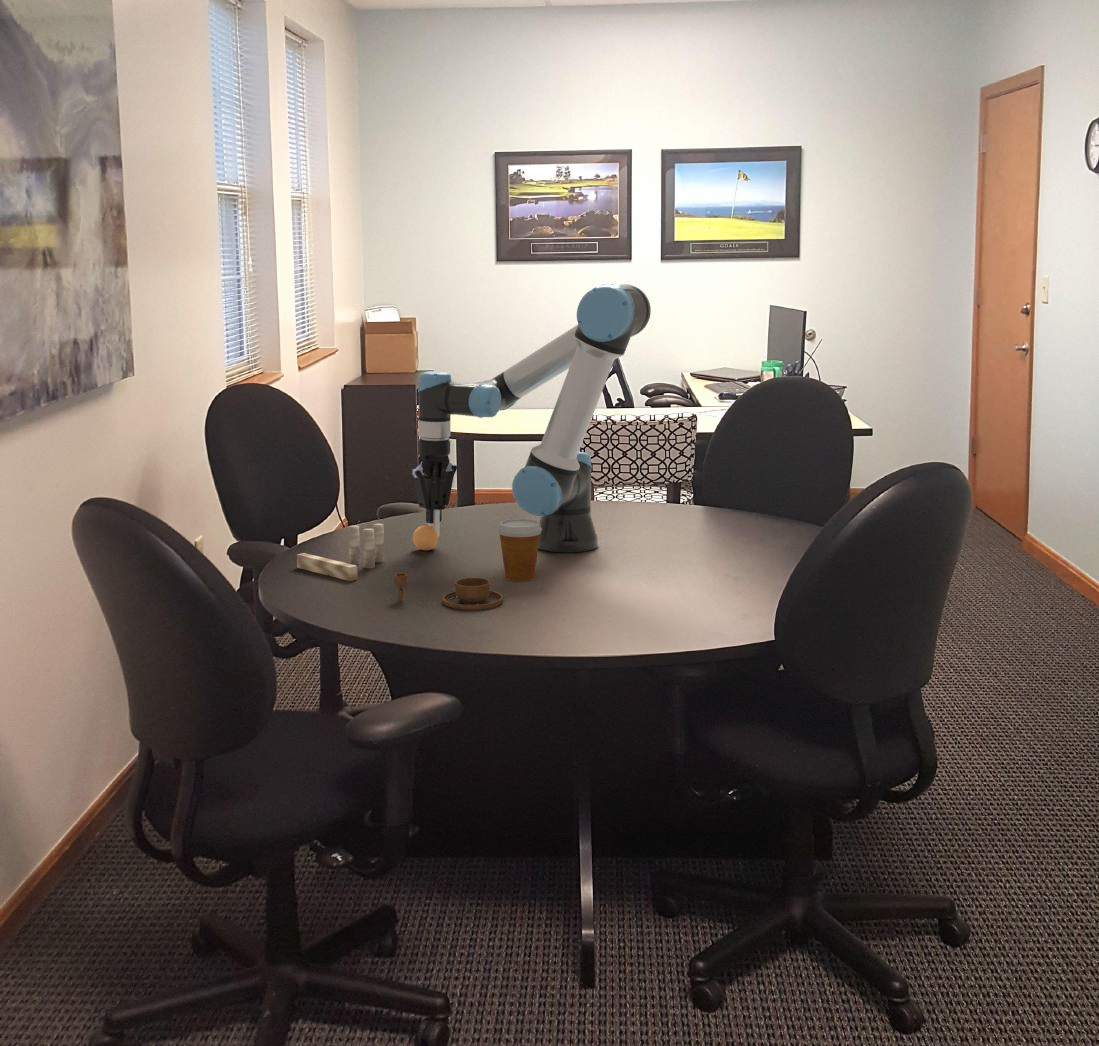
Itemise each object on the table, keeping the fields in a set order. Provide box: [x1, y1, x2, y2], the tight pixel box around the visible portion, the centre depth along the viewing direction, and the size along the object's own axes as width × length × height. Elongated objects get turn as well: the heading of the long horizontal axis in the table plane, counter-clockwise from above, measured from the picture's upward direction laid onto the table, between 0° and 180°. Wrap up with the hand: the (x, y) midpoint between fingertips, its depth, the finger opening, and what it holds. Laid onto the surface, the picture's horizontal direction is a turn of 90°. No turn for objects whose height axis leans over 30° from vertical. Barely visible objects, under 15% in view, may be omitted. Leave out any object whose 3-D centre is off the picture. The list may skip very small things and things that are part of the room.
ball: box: [412, 524, 439, 551], centre depth 280 cm, size 6×6×6 cm
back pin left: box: [362, 528, 376, 569], centre depth 263 cm, size 2×2×8 cm
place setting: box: [394, 572, 504, 611], centre depth 238 cm, size 18×20×6 cm
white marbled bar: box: [296, 552, 358, 582], centre depth 258 cm, size 18×2×3 cm, turn 49°
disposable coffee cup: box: [497, 518, 542, 582], centre depth 254 cm, size 10×10×12 cm
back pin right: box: [347, 524, 361, 566], centre depth 266 cm, size 2×2×8 cm
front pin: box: [372, 523, 385, 564], centre depth 269 cm, size 2×2×8 cm
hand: (433, 535), depth 284 cm, fingers closed
